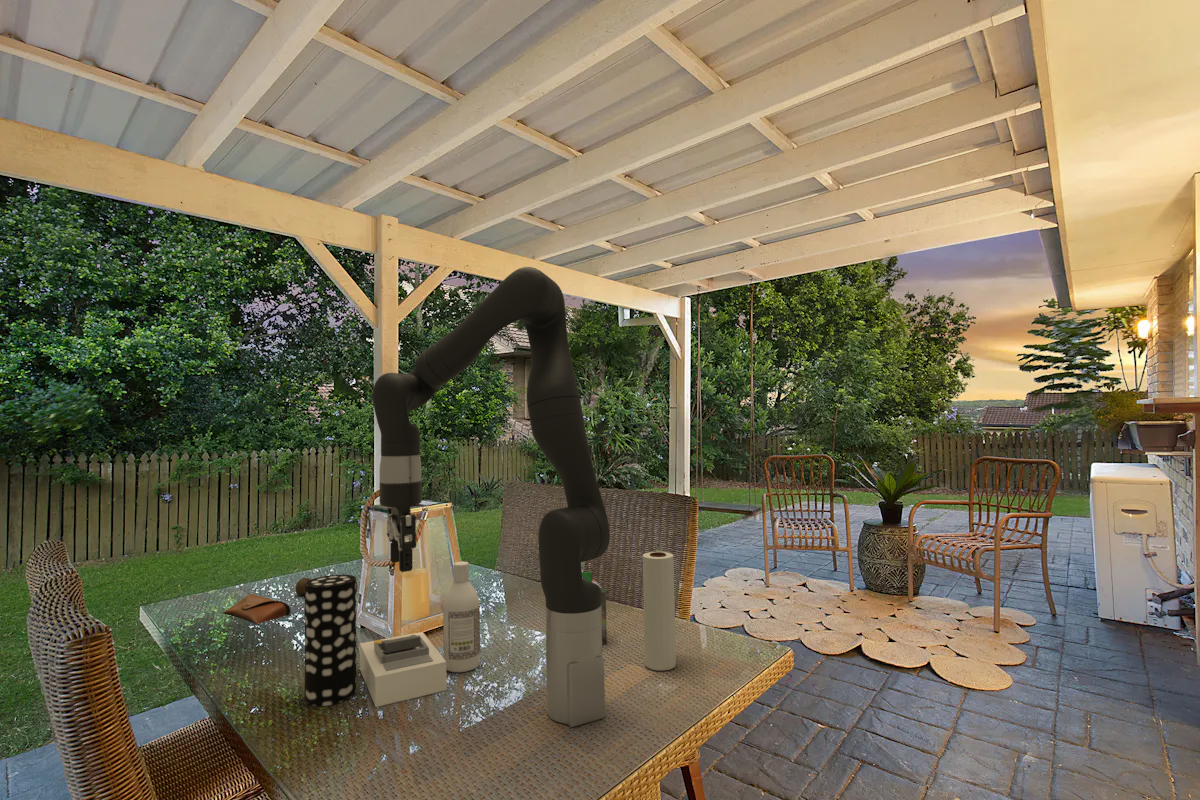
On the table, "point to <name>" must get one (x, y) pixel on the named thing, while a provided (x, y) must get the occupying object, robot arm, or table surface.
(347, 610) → the spotted tube
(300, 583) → the kendama
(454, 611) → the bath foam
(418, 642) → the rocker paddle
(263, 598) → the sunglasses case
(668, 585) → the paper towel roll
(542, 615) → the table surface
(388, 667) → the switch box
